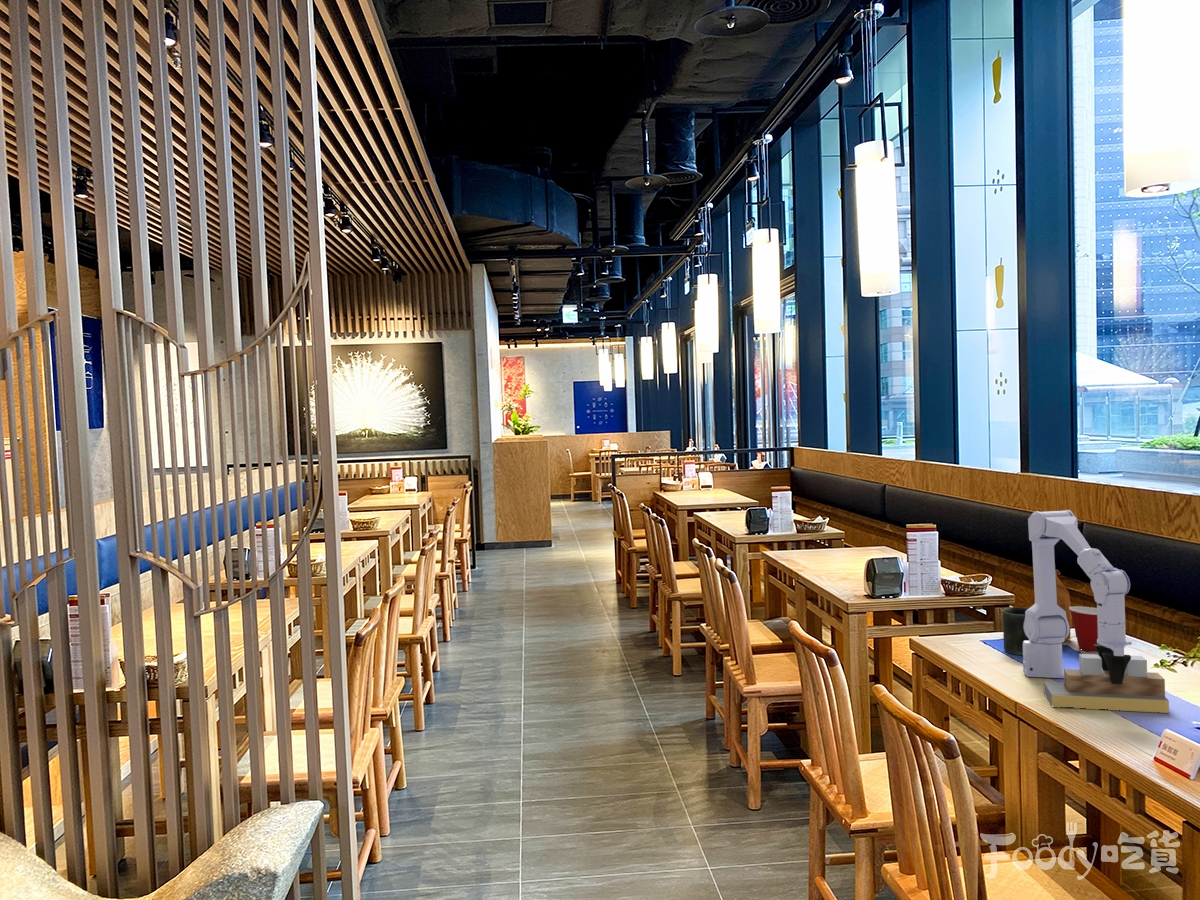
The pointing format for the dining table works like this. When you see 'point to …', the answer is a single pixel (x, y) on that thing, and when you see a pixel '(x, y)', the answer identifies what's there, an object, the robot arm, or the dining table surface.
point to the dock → (1103, 700)
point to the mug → (1014, 629)
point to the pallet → (1103, 685)
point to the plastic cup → (1085, 626)
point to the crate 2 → (1136, 667)
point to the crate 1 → (1090, 664)
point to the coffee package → (1063, 600)
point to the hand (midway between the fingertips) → (1112, 679)
